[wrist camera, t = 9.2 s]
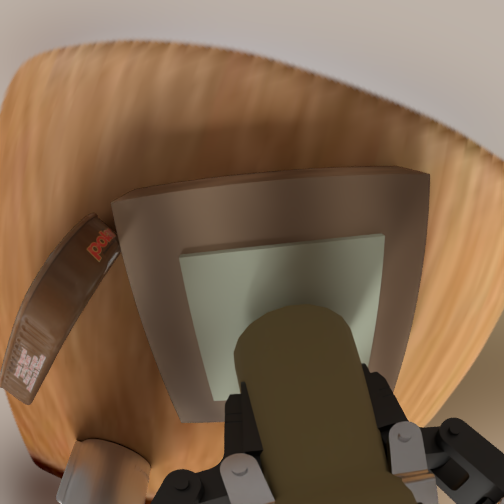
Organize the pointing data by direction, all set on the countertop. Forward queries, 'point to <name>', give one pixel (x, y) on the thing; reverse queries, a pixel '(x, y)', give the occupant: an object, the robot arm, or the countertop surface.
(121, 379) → the countertop surface
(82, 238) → the tin
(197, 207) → the stand
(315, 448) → the olive pepper mill
